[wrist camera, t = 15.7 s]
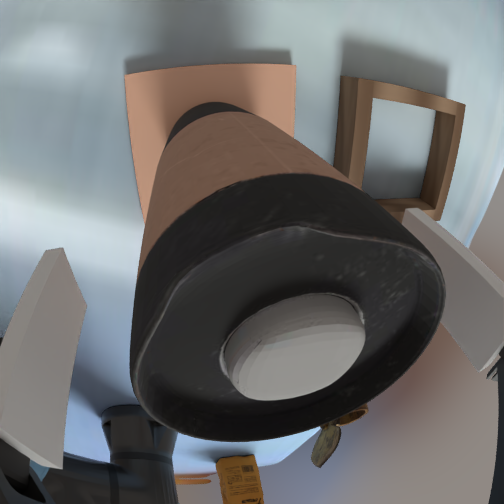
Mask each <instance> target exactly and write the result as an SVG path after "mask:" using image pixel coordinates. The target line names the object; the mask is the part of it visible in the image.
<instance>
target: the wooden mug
mask: <svg viewBox="0 0 504 504" xmlns="http://www.w3.org/2000/svg"><path fill="white" fill-rule="evenodd" d="M367 413H368V407H367V403H366V404H364V405H363V406H361V407H359V408H358V409H356V410H354V411H352V412H350V413H348V414H346V415H344V416H342V417H340V418H338V419H336V420H334V421H331V422H329V423H326V424H324V425H321V426H320V427H321V428H322V431H321V434H320V436H319V437H318V439H317V441H316V443H315V446H314V448H313V452H312V456H311V460H312V462H313V464H314V465H315V466H317V467H319V468H321V466H322V465H323V464H324V463H325V462H326V461H327V460H328V458H330V456H331V455H332V453H333V452H334V451H335V449H336V448H337V446H338V443H339V440H340V437H341V429H340V427H339V426H343V425H347V424H349V423H352V422H354V421H356V420H358V419H360V418H361V417H362V416H364V415H365V414H367Z"/></svg>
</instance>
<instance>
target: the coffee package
mask: <svg viewBox="0 0 504 504" xmlns="http://www.w3.org/2000/svg"><path fill="white" fill-rule="evenodd" d="M216 470H217V473H218V476H219V479H220V487H221V494H222V498H223V504H264V501H263V491H262V487H261V482H260V476H259V470H258V466H257V463H256V460H255V456H254V455H250V456H245V457H241V456H232V457H226V458H221V459H219V461H218V462H217V463H216Z"/></svg>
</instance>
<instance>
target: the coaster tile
mask: <svg viewBox="0 0 504 504" xmlns="http://www.w3.org/2000/svg"><path fill="white" fill-rule="evenodd" d="M125 89H126V101H127V111H128V121H129V129H130V138H131V145H132V153H133V160H134V166H135V173H136V179H137V185H138V191H139V197H140V202H141V207H142V213H143V218H144V223H146V218H147V212H148V207H149V202H150V197H151V193H152V188H153V183H154V179H155V174H156V170H157V166H158V163H159V160H160V157H161V155H162V152H163V150H164V147H165V145H166V142H167V140H168V137H169V135H170V133H171V130H172V128H173V127H174V125H175V123H176V122H177V121H178V119H179V118H180V117H181V116H182V115H183V114H184V113H185V112H187V111H188V110H190V109H191V108H193V107H195V106H197V105H200V104H203V103H208V102H224V103H228V104H232V105H235V106H237V107H239V108H242V109H244V110H246V111H248V112H250V113H253V114H255V115H257V116H259V117H261V118H263V119H265V120H267V121H269V122H270V123H272V124H274V125H275V126H277V127H278V128H280V129H281V130H283V131H284V132H286V133H287V134H288V135H290V136H291V137H293V138H294V120H295V92H296V65H284V64H212V65H197V66H185V67H175V68H167V69H159V70H152V71H145V72H139V73H133V74H128V75H125Z"/></svg>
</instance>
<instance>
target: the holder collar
mask: <svg viewBox="0 0 504 504" xmlns="http://www.w3.org/2000/svg"><path fill="white" fill-rule="evenodd" d="M373 98H378V99H384V100H390V101H396V102H401V103H406V104H411V105H416V106H420V107H425V108H429V109H433V110H436V117H435V124H434V130H433V137H432V142H431V148H430V153H429V159H428V164H427V168H426V173H425V178H424V182H423V186H422V190H421V195H420V198H399V199H376V200H375V201H376V202H377V203H378V204H380V205H381V206H382V207H383V208H384V209H385V210H386V211H388V212H389V213H390V214H391V215H392V216H393V217H394V218H395V219H397V220H398V221H399V222H400V223H401V224H402V221H403V217H404V213H405V209H408V208H419V209H420V210H422V211H423V212H424V213H425V214H427V215H428V216H429V217H431V218H432V219H433V220H434V221H440V219H441V216H442V213H443V209H444V206H445V202H446V199H447V195H448V191H449V188H450V184H451V180H452V176H453V172H454V167H455V163H456V158H457V153H458V148H459V143H460V138H461V132H462V126H463V120H464V113H465V104H462V103H459V102H456V101H453V100H450V99H447V98H444V97H440V96H437V95H433V94H430V93H426V92H423V91H419V90H415V89H411V88H407V87H403V86H398V85H394V84H389V83H384V82H379V81H374V80H368V79H362V78H356V77H348V76H341V80H340V97H339V112H338V125H337V136H336V147H335V157H334V166H333V167H334V168H335V169H337V170H338V171H339V172H340V173H342V174H343V175H344V176H346V177H347V178H348V179H349V180H351V181H352V182H353V183H354V184H356V185H357V186H358V187H359V188H360V189H361V187H362V181H363V175H364V168H365V161H366V154H367V147H368V139H369V130H370V121H371V112H372V101H373Z"/></svg>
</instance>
